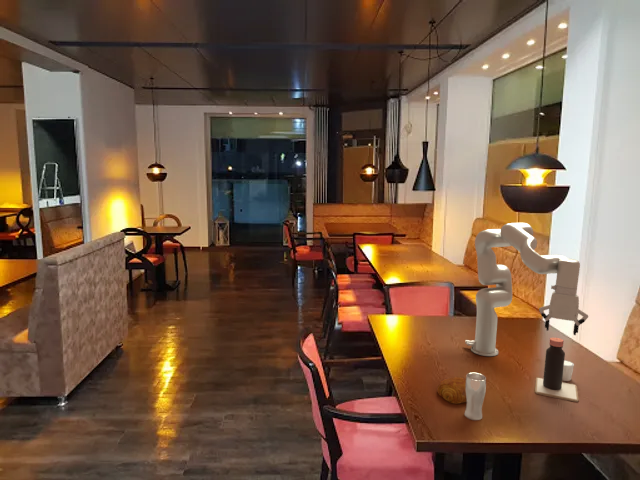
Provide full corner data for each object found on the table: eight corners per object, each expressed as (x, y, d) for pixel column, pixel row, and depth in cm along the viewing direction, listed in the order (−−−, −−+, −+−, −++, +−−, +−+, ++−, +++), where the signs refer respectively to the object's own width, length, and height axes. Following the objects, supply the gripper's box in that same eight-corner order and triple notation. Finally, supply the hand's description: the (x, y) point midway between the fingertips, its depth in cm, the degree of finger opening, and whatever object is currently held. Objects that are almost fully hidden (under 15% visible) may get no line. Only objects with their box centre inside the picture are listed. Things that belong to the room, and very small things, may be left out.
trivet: (534, 393, 187) (535, 391, 187) (535, 378, 200) (536, 376, 200) (578, 402, 180) (578, 400, 180) (576, 386, 194) (576, 384, 194)
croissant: (483, 403, 183) (487, 384, 182) (456, 408, 174) (460, 388, 173) (454, 388, 195) (458, 369, 194) (428, 391, 186) (431, 372, 185)
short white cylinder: (571, 376, 204) (572, 360, 203) (573, 382, 197) (575, 367, 196) (553, 373, 206) (555, 358, 205) (555, 380, 200) (557, 364, 198)
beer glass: (460, 411, 172) (462, 372, 170) (478, 410, 173) (481, 372, 170) (467, 421, 165) (470, 380, 163) (486, 420, 166) (490, 380, 164)
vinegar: (549, 391, 188) (554, 343, 185) (539, 383, 194) (543, 337, 191) (565, 390, 189) (570, 342, 186) (554, 382, 195) (558, 336, 192)
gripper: (541, 289, 185) (536, 330, 188) (591, 296, 177) (586, 339, 180) (541, 285, 191) (537, 325, 194) (590, 291, 184) (584, 332, 187)
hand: (560, 331), depth 187 cm, fingers open, 9 cm apart
